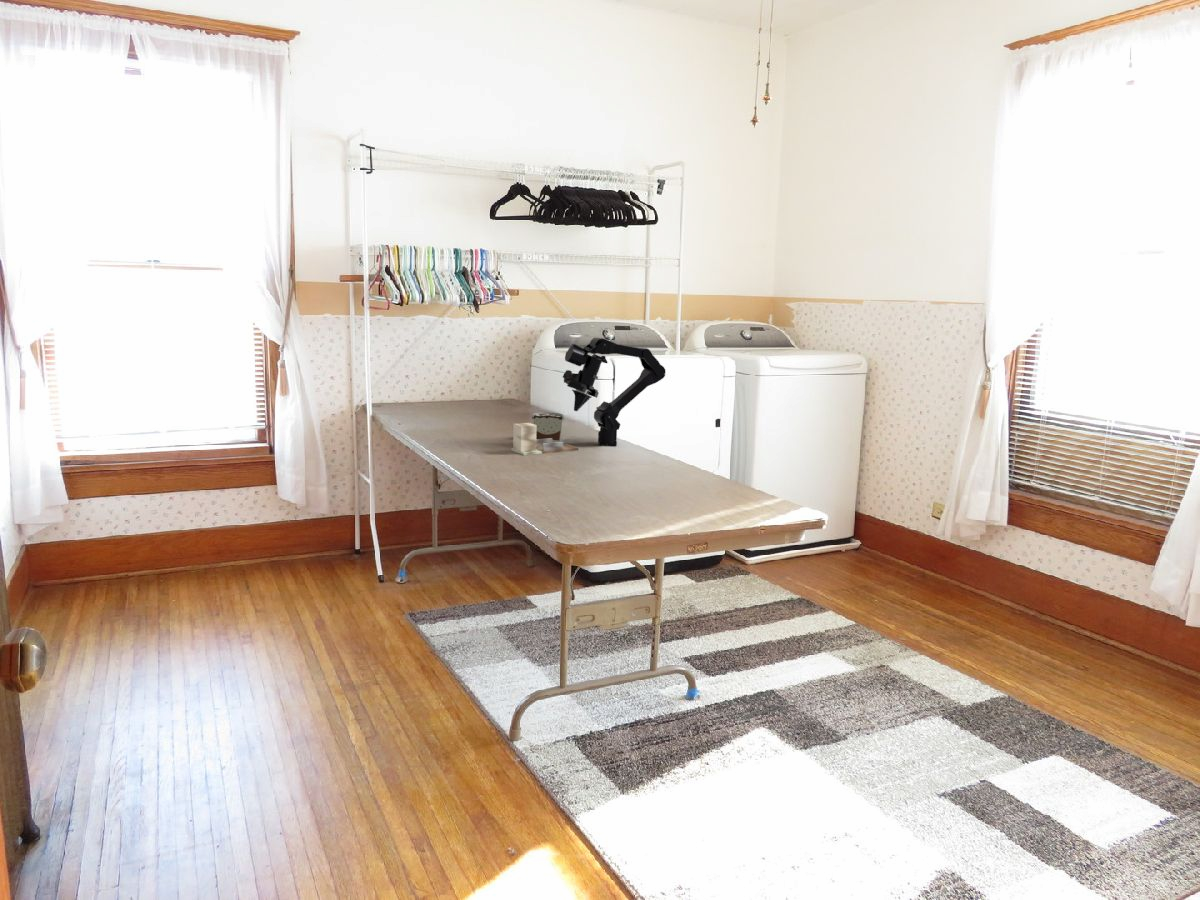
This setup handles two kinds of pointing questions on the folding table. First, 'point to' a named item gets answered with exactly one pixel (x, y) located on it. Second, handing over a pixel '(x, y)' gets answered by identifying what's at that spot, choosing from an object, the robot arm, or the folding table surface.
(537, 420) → the food container
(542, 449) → the chute
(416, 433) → the folding table surface
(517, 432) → the block
